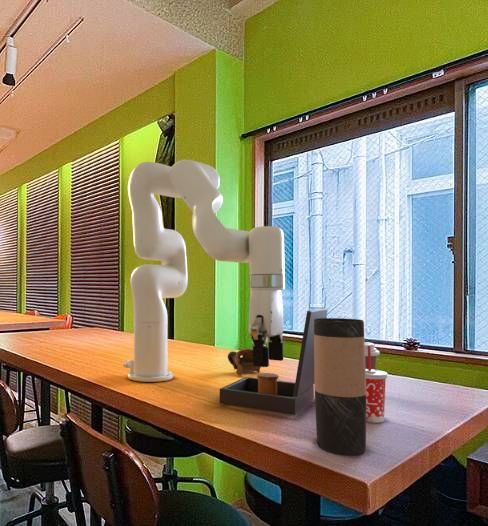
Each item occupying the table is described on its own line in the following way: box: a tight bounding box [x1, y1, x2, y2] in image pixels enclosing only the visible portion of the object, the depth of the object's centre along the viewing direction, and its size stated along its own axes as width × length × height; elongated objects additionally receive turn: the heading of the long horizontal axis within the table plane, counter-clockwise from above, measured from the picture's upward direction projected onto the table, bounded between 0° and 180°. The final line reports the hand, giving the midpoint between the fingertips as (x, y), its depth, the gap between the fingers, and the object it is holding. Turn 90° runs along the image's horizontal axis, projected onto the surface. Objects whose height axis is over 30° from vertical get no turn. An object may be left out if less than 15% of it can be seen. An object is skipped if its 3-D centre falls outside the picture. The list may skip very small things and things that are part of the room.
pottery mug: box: [227, 348, 262, 378], centre depth 128 cm, size 12×10×8 cm
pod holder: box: [219, 376, 315, 416], centre depth 94 cm, size 16×15×4 cm
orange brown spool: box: [256, 372, 280, 395], centre depth 94 cm, size 5×5×6 cm
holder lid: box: [293, 307, 329, 397], centre depth 90 cm, size 17×15×1 cm
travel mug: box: [314, 317, 367, 456], centre depth 70 cm, size 8×8×20 cm
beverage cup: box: [366, 345, 388, 424], centre depth 85 cm, size 6×6×14 cm
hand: (268, 363), depth 94 cm, fingers open, 9 cm apart
